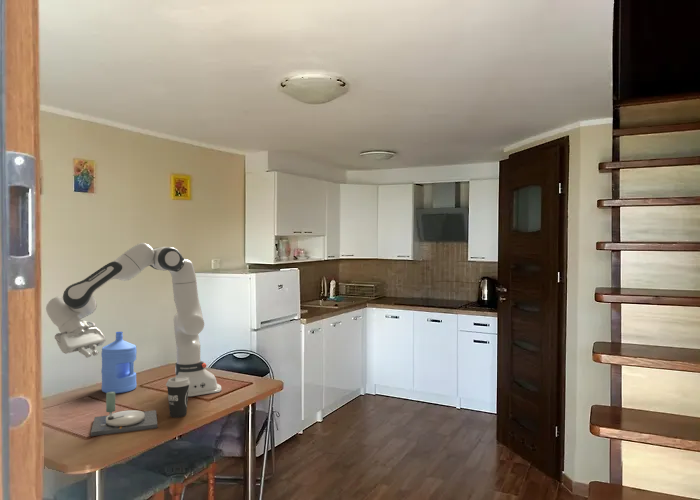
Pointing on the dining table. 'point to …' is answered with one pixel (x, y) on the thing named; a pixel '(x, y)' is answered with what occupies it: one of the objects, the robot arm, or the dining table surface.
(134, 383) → the water jug
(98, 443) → the dining table surface
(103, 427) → the dial base plate
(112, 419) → the dial
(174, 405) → the coffee cup
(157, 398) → the dining table surface
